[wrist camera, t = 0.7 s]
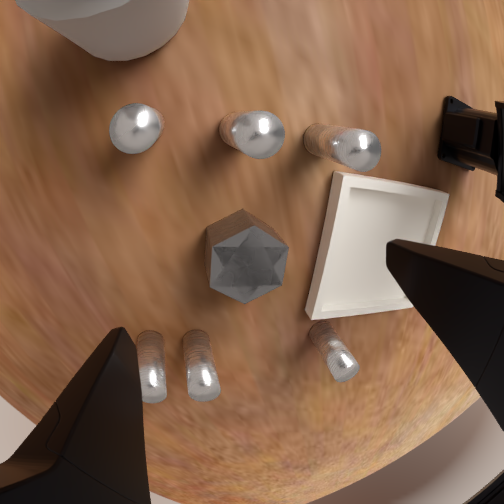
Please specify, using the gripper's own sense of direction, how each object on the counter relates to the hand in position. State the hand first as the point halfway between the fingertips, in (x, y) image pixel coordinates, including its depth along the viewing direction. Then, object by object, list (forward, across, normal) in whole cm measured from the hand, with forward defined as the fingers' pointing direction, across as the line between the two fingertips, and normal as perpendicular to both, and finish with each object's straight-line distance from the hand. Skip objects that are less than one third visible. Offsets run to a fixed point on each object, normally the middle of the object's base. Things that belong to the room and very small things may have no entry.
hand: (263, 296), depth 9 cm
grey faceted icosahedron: (+13, -1, +5) cm, 14 cm away
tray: (+13, -13, +9) cm, 20 cm away
